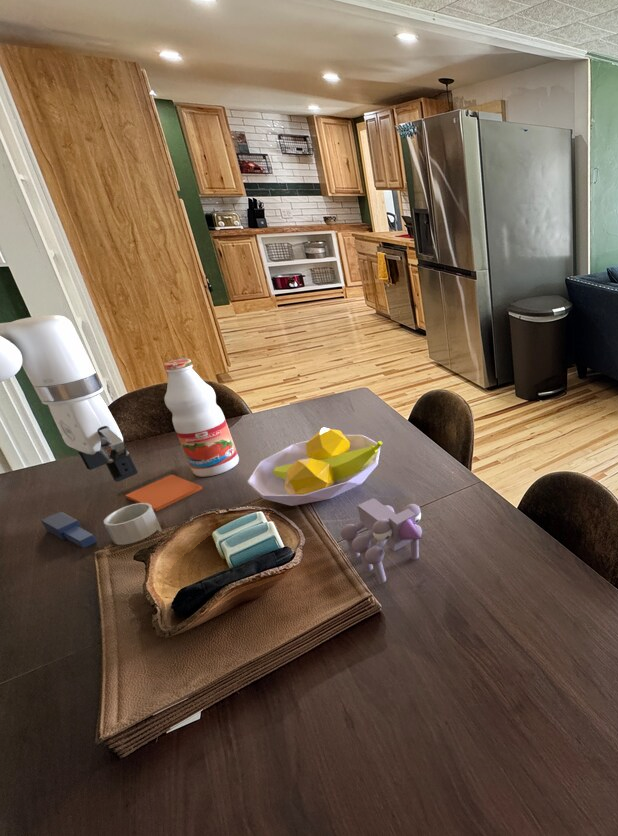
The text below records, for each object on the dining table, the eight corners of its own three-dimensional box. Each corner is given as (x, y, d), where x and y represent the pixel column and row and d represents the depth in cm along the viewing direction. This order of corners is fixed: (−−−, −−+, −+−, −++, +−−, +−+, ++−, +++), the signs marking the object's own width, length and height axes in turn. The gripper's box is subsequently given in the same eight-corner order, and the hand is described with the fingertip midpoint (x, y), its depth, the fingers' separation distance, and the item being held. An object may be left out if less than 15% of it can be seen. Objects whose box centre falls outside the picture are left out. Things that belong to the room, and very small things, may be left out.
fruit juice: (241, 453, 124) (205, 352, 113) (238, 470, 116) (200, 364, 105) (196, 463, 119) (154, 359, 108) (190, 482, 112) (144, 372, 101)
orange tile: (156, 511, 102) (154, 508, 101) (126, 498, 106) (124, 495, 106) (202, 488, 109) (201, 486, 109) (172, 477, 114) (171, 474, 113)
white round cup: (127, 554, 90) (115, 529, 87) (109, 544, 92) (96, 519, 90) (169, 532, 96) (158, 507, 93) (150, 523, 98) (139, 499, 96)
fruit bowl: (227, 506, 103) (210, 462, 99) (329, 446, 127) (319, 408, 122) (326, 534, 95) (312, 486, 90) (415, 464, 118) (408, 424, 114)
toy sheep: (455, 573, 85) (445, 511, 80) (401, 612, 77) (386, 547, 72) (394, 528, 96) (382, 472, 91) (341, 558, 88) (325, 498, 83)
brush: (80, 550, 91) (73, 538, 90) (47, 531, 96) (40, 520, 95) (100, 540, 93) (94, 528, 92) (66, 522, 98) (60, 511, 97)
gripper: (16, 388, 81) (63, 471, 88) (64, 405, 75) (111, 493, 82) (74, 373, 88) (114, 452, 95) (124, 387, 81) (162, 471, 88)
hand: (112, 471), depth 88 cm, fingers open, 9 cm apart
